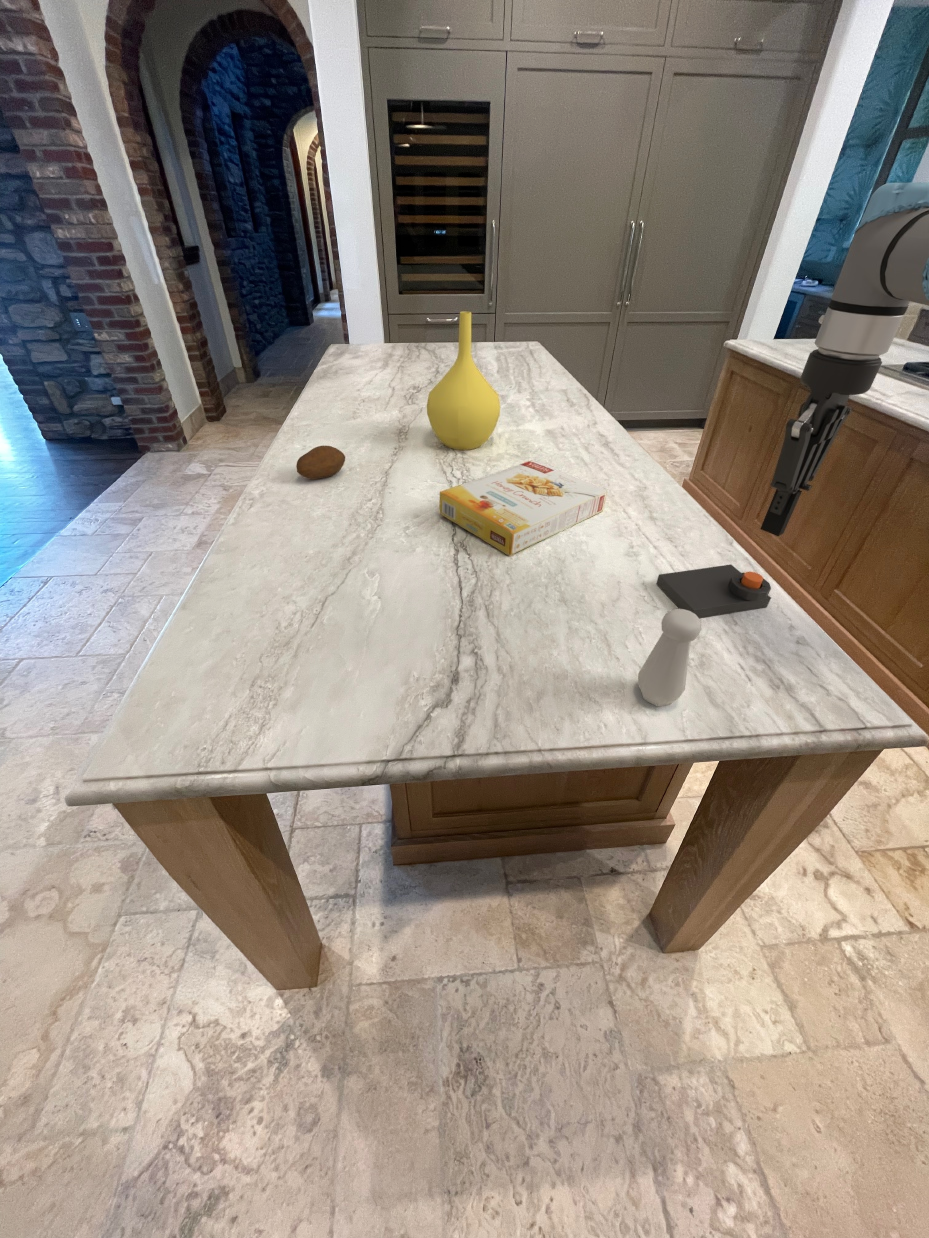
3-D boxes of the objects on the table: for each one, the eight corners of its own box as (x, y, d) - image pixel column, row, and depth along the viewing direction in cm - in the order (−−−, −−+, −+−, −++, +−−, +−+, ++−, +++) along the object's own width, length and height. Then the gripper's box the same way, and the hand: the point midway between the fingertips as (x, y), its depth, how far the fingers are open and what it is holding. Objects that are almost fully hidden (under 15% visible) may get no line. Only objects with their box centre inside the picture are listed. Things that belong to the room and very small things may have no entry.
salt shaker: (634, 675, 72) (658, 597, 64) (678, 683, 71) (708, 605, 63) (633, 706, 68) (658, 626, 60) (680, 715, 67) (712, 636, 59)
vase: (511, 442, 140) (522, 312, 122) (468, 462, 129) (473, 323, 110) (457, 426, 149) (459, 303, 130) (412, 444, 137) (407, 312, 119)
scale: (729, 573, 93) (736, 556, 91) (770, 608, 85) (778, 590, 83) (655, 583, 90) (661, 566, 88) (691, 621, 82) (698, 603, 80)
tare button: (751, 578, 86) (755, 570, 85) (763, 588, 84) (767, 580, 83) (737, 580, 85) (740, 572, 84) (748, 590, 83) (752, 582, 82)
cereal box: (437, 490, 103) (534, 455, 118) (437, 516, 106) (531, 478, 122) (514, 532, 92) (610, 486, 107) (511, 559, 95) (604, 511, 110)
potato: (291, 480, 119) (285, 449, 114) (334, 466, 125) (330, 436, 121) (309, 489, 115) (303, 458, 111) (352, 474, 122) (348, 444, 118)
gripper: (837, 340, 68) (768, 509, 83) (789, 353, 62) (723, 534, 76) (903, 351, 64) (818, 528, 78) (859, 366, 57) (775, 556, 72)
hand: (771, 531), depth 77 cm, fingers closed
